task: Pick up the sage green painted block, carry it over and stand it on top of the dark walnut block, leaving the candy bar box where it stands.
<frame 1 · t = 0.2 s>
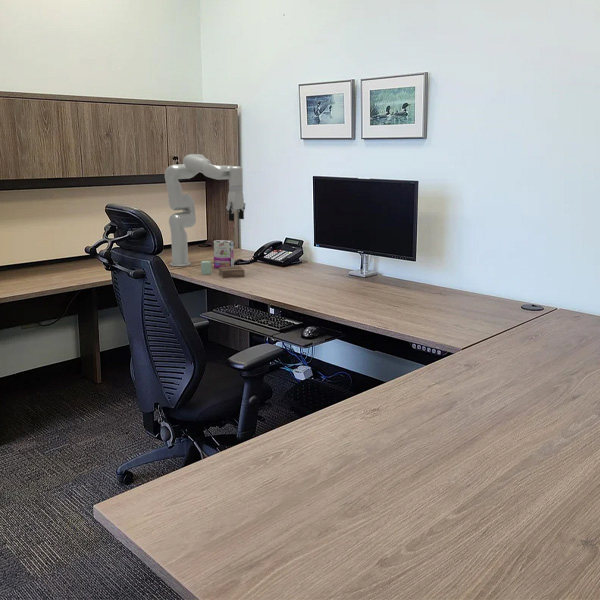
hand: (236, 219, 350), 31 cm above the table, tool pointing down, fingers open, 9 cm apart
walnut block: (231, 275, 352), on the table
candy bar box: (224, 268, 373), on the table
sage block: (206, 273, 356), on the table
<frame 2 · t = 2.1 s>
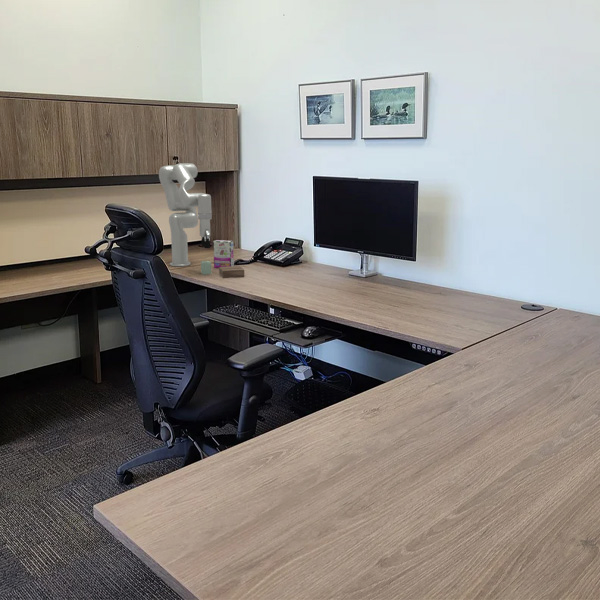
hand: (206, 247, 352), 15 cm above the table, tool pointing down, fingers open, 9 cm apart
nothing on the table moved.
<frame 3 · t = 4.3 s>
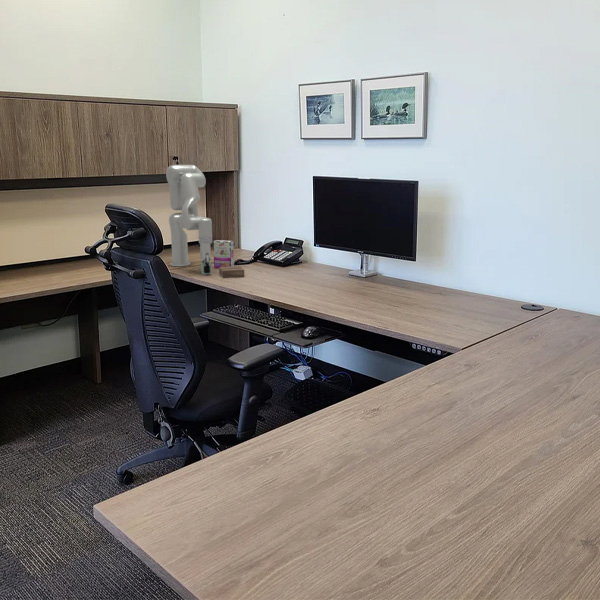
hand: (206, 271, 355), 1 cm above the table, tool pointing down, fingers closed on sage block, 5 cm apart
sage block: (206, 273, 356), on the table, touching gripper
everything else where it was.
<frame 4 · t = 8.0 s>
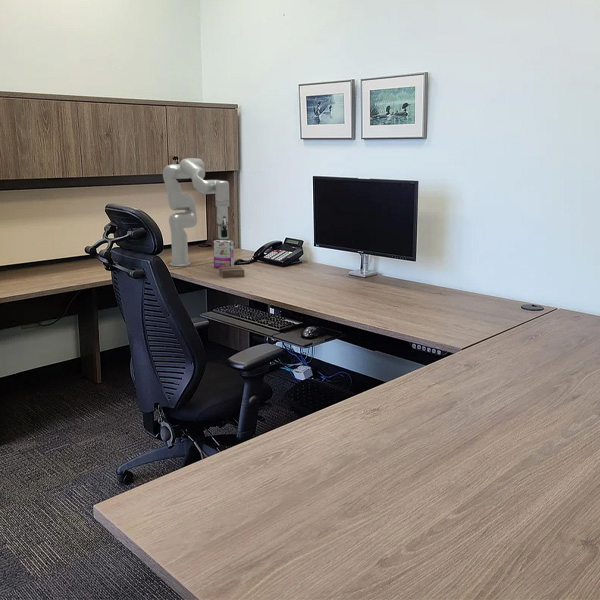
hand: (223, 236, 348), 22 cm above the table, tool pointing down, fingers closed on sage block, 5 cm apart
sage block: (223, 238, 348), point 21 cm above the table, touching gripper
everything else where it was.
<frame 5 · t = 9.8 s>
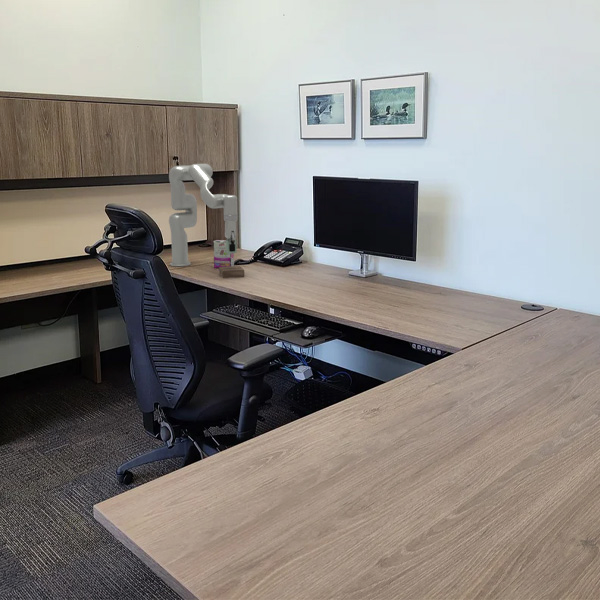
hand: (231, 250, 348), 14 cm above the table, tool pointing down, fingers closed on sage block, 5 cm apart
sage block: (231, 252, 349), point 13 cm above the table, touching gripper
everything else where it was.
when the fingers open (7 cm above the table, at t = 11.6 s): sage block drops 1 cm, resting on walnut block.
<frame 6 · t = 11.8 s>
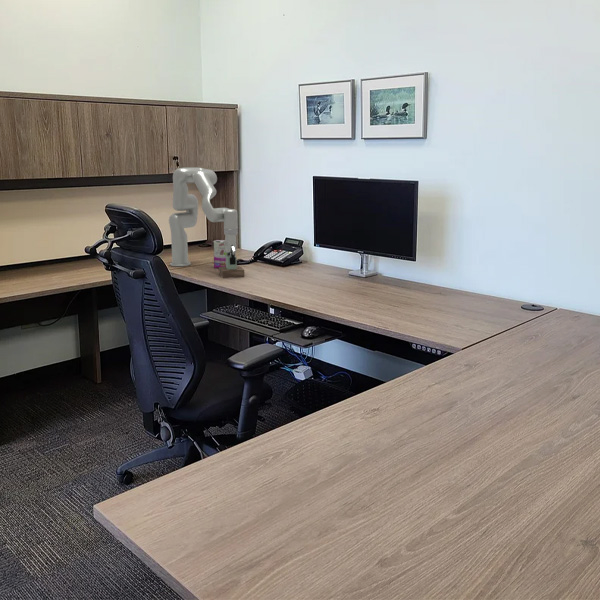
hand: (231, 262, 350), 7 cm above the table, tool pointing down, fingers open, 7 cm apart
sage block: (231, 268, 351), point 4 cm above the table, touching walnut block
everything else where it was.
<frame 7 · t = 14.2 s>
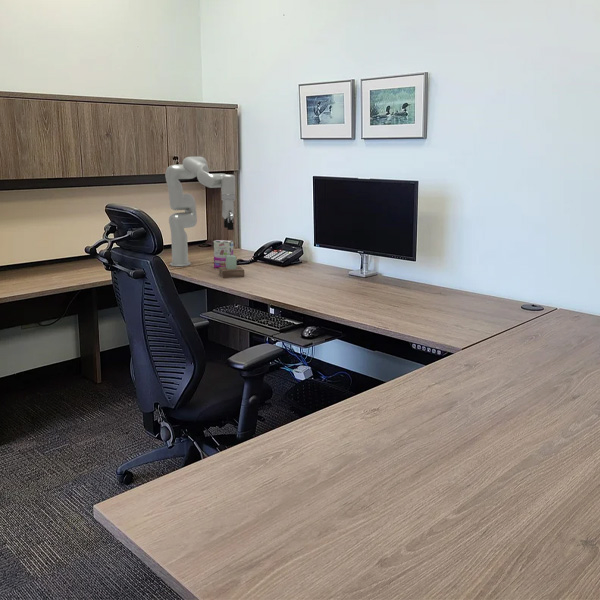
hand: (228, 228, 346), 26 cm above the table, tool pointing down, fingers open, 9 cm apart
nothing on the table moved.
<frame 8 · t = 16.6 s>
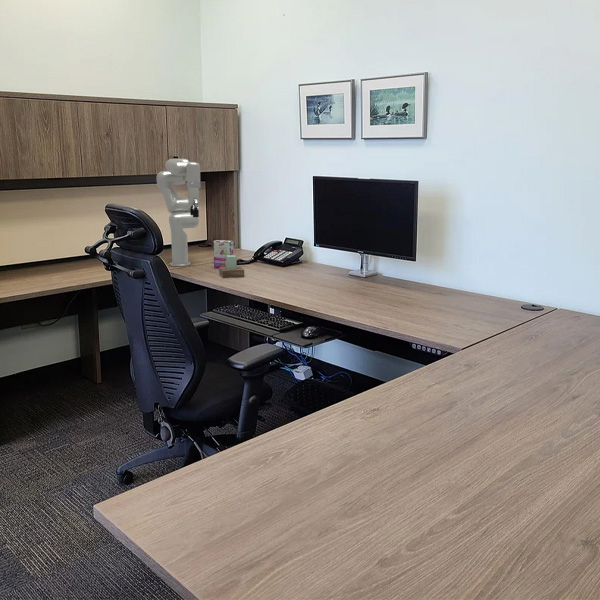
hand: (194, 216, 351), 32 cm above the table, tool pointing down, fingers open, 9 cm apart
nothing on the table moved.
at the end: sage block inside the target area on the walnut block (0.1 cm from its centre), point 4.0 cm above the walnut block's base; sage block tilted 0°; the gripper is holding nothing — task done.
